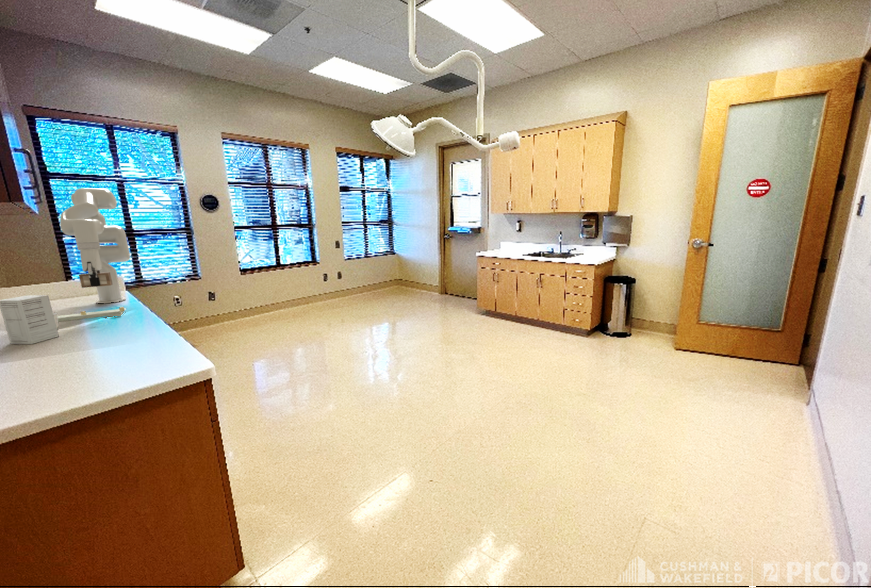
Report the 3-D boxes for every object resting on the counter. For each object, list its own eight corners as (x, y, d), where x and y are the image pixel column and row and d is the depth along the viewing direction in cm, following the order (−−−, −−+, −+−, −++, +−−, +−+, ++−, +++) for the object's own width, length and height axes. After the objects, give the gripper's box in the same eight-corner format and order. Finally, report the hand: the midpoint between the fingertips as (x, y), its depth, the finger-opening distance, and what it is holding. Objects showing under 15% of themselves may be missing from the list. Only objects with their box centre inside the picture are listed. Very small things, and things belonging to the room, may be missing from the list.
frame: (84, 286, 164) (81, 273, 163) (112, 284, 169) (110, 272, 168) (81, 287, 161) (78, 275, 159) (110, 285, 166) (107, 273, 165)
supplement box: (60, 336, 137) (49, 294, 134) (31, 344, 128) (19, 300, 125) (38, 336, 138) (28, 294, 135) (9, 344, 129) (-4, 299, 126)
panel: (51, 319, 163) (50, 312, 163) (127, 310, 178) (126, 304, 177) (40, 326, 152) (38, 319, 151) (122, 316, 166) (120, 310, 165)
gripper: (83, 245, 166) (91, 283, 170) (71, 248, 152) (81, 289, 156) (104, 245, 170) (111, 282, 174) (94, 247, 156) (103, 287, 160)
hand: (97, 284), depth 165 cm, fingers closed on frame, 4 cm apart
